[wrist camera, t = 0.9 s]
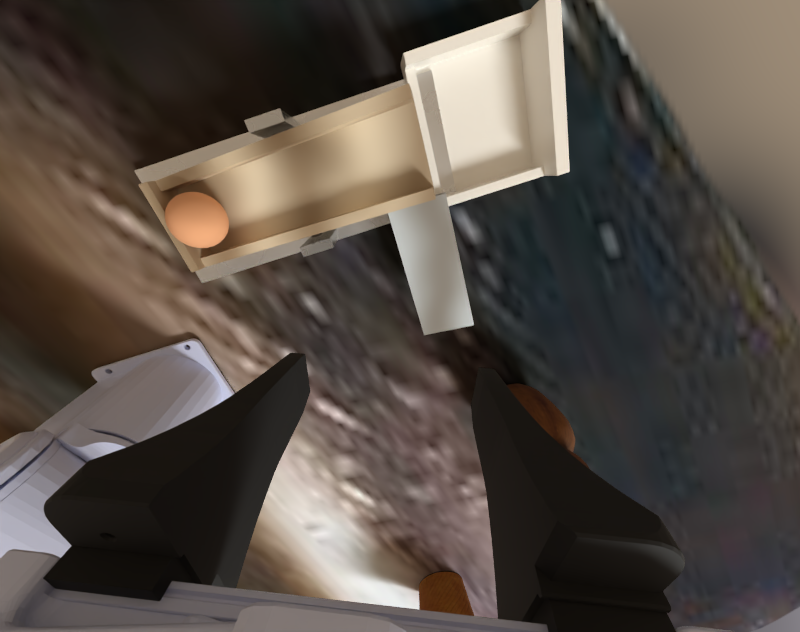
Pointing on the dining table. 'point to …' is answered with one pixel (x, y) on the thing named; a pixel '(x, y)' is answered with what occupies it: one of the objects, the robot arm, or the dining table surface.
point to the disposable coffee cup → (444, 594)
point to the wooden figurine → (546, 416)
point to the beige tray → (335, 197)
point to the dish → (497, 101)
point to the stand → (281, 122)
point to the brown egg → (196, 219)
